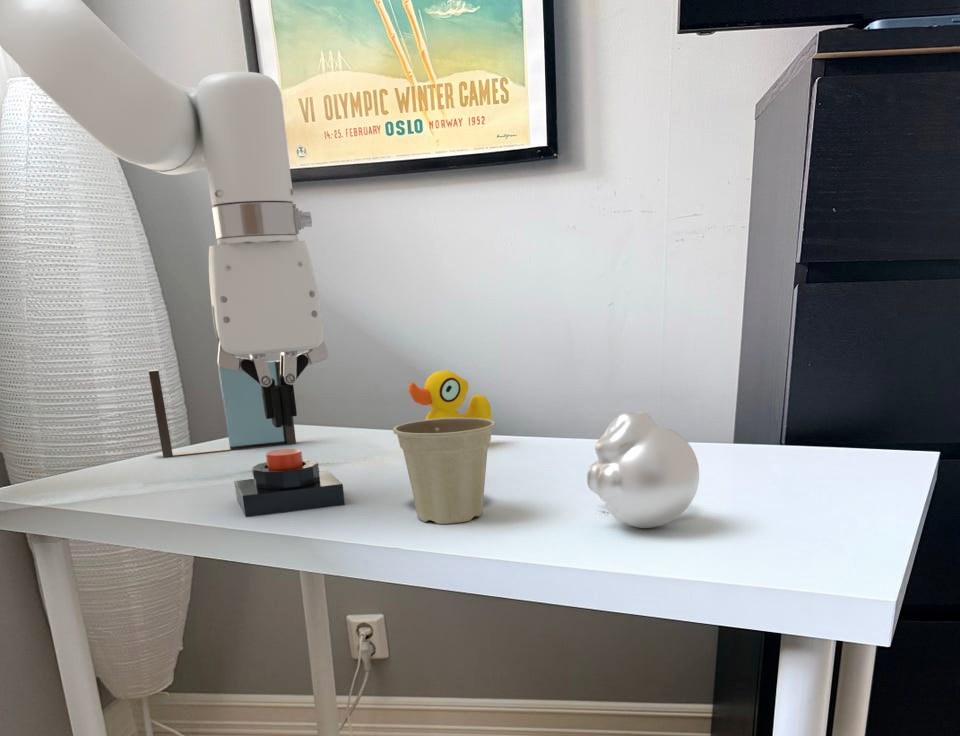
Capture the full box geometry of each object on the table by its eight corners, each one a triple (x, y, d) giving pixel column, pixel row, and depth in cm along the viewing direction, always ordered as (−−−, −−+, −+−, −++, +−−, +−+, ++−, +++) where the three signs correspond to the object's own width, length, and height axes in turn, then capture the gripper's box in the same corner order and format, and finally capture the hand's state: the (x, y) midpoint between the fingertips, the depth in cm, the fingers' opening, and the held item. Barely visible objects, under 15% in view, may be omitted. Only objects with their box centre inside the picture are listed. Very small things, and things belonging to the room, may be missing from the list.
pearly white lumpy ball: (606, 510, 87) (606, 402, 84) (706, 517, 84) (711, 403, 80) (574, 535, 80) (572, 418, 76) (683, 543, 76) (687, 420, 72)
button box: (245, 517, 92) (239, 477, 90) (237, 501, 99) (231, 463, 97) (345, 505, 95) (341, 466, 93) (329, 490, 102) (326, 453, 100)
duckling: (423, 456, 118) (417, 375, 114) (405, 451, 122) (399, 372, 118) (500, 445, 123) (497, 367, 119) (480, 440, 127) (477, 365, 123)
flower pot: (382, 516, 90) (374, 425, 86) (464, 500, 94) (460, 413, 91) (432, 535, 82) (425, 437, 79) (518, 517, 87) (515, 423, 84)
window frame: (165, 468, 119) (148, 371, 114) (164, 465, 121) (148, 370, 116) (297, 454, 124) (286, 360, 119) (295, 451, 126) (284, 359, 121)
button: (270, 474, 93) (268, 456, 93) (265, 468, 96) (263, 451, 96) (306, 470, 94) (304, 452, 94) (300, 464, 97) (298, 447, 97)
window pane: (231, 447, 121) (216, 345, 116) (230, 445, 122) (215, 344, 117) (284, 441, 123) (272, 341, 118) (283, 440, 124) (271, 341, 119)
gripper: (327, 226, 92) (347, 413, 99) (171, 232, 88) (203, 428, 95) (342, 221, 86) (362, 422, 93) (175, 228, 81) (209, 438, 88)
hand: (282, 424), depth 94 cm, fingers closed
